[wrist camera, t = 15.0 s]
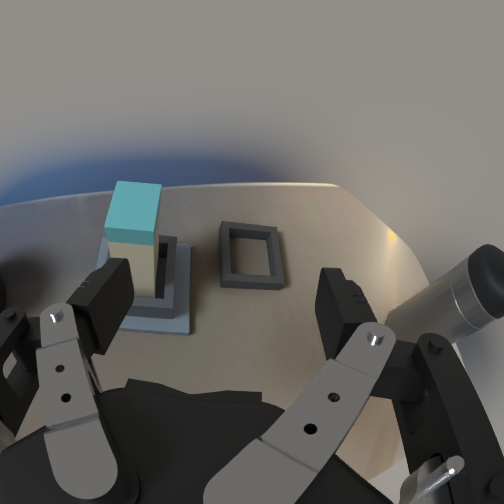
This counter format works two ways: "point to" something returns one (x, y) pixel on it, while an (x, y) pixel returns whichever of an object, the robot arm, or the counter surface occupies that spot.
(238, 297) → the counter surface
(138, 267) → the plug
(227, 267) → the gray square frame
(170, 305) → the port
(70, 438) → the robot arm
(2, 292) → the pen holder
